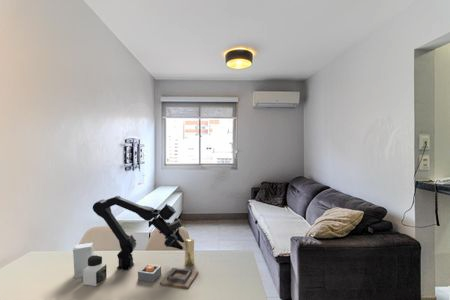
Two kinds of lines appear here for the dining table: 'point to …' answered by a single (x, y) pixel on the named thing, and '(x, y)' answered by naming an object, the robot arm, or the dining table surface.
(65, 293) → the dining table surface
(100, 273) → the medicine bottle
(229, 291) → the dining table surface
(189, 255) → the brass billet
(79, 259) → the skincare box
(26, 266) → the dining table surface
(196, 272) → the brown board with frame
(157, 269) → the button housing
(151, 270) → the button
